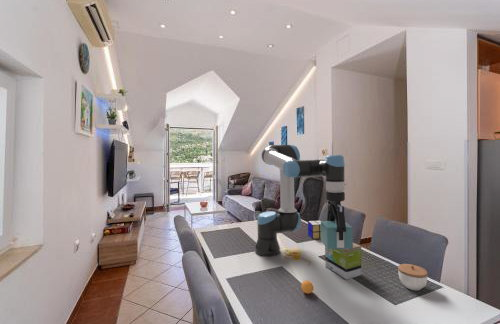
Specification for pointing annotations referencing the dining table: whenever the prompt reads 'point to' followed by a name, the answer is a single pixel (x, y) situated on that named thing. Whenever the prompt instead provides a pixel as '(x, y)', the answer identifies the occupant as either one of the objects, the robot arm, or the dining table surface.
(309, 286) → the ball
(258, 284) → the dining table surface
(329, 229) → the teal cube
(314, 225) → the puzzle cube
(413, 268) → the lidded jar
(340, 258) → the tea box
